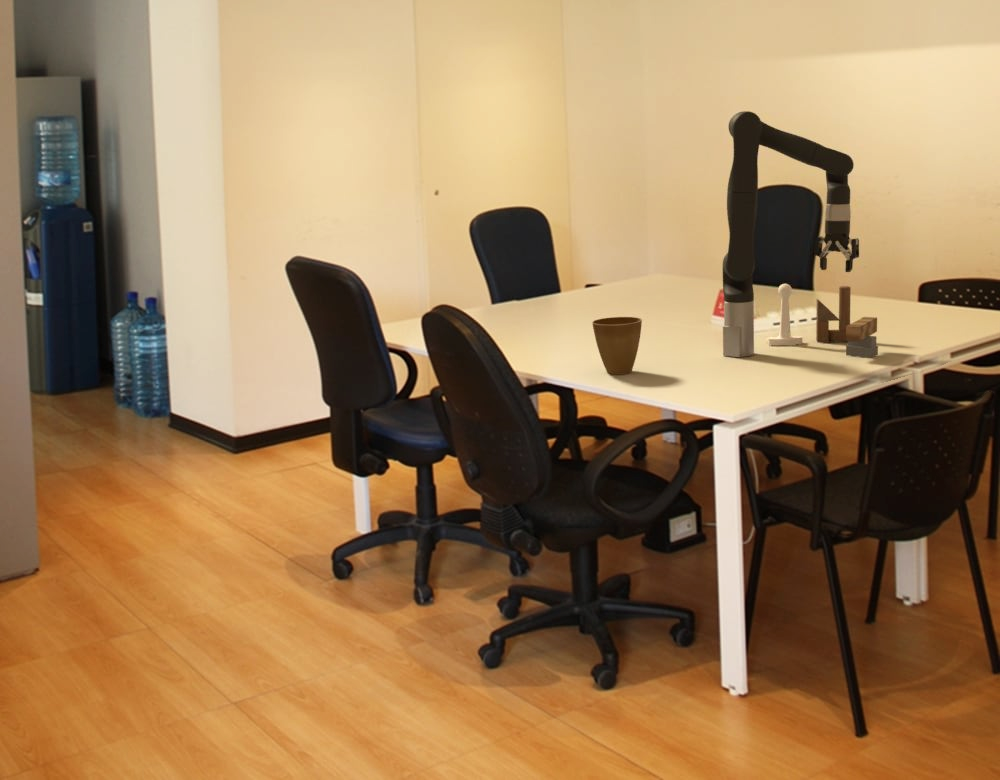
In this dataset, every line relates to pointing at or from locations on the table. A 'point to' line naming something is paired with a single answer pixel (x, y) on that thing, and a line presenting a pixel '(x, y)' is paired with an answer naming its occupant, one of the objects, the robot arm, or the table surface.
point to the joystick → (784, 321)
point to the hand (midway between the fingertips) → (835, 270)
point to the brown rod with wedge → (833, 318)
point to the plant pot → (618, 342)
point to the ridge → (863, 347)
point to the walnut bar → (861, 329)
